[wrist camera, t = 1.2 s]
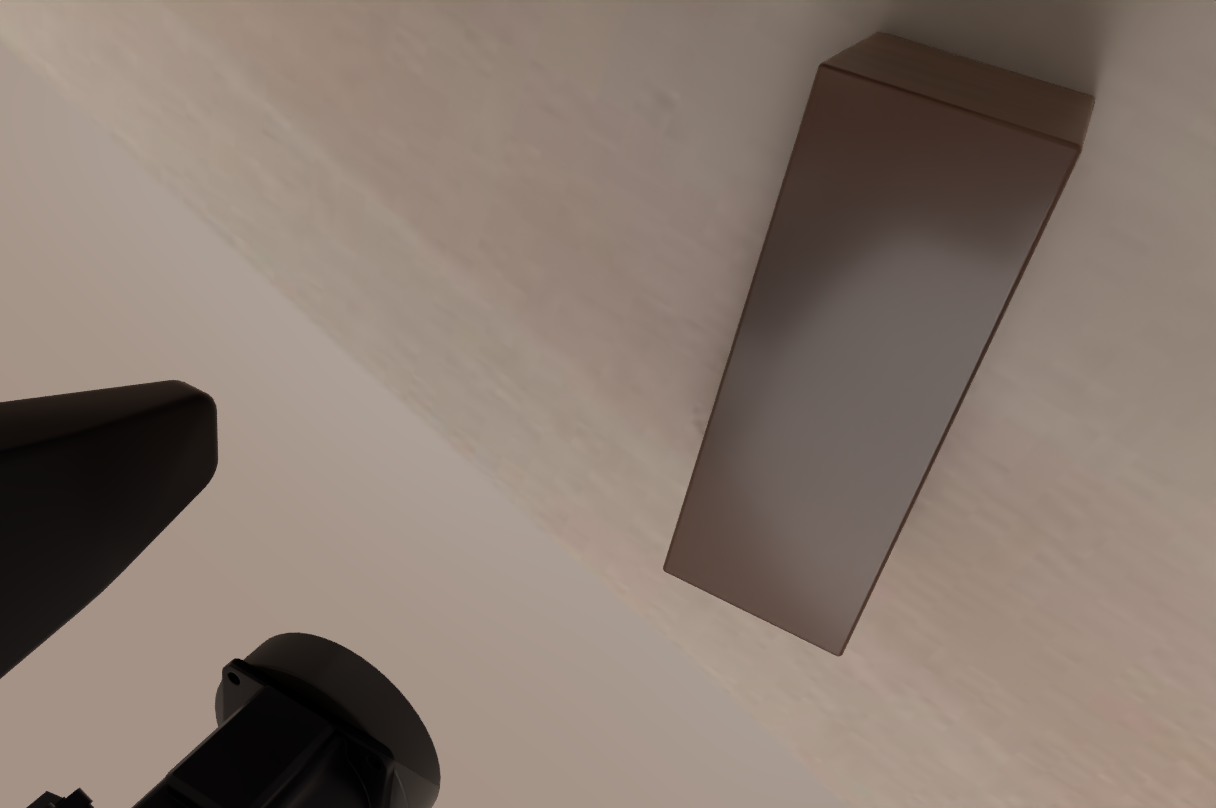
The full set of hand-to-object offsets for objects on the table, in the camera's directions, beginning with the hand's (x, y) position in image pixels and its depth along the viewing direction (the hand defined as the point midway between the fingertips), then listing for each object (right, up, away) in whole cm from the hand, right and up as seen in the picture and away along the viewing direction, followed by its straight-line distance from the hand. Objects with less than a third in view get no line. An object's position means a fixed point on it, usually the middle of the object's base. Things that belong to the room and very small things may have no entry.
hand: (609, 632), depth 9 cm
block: (+4, +3, +7) cm, 9 cm away
